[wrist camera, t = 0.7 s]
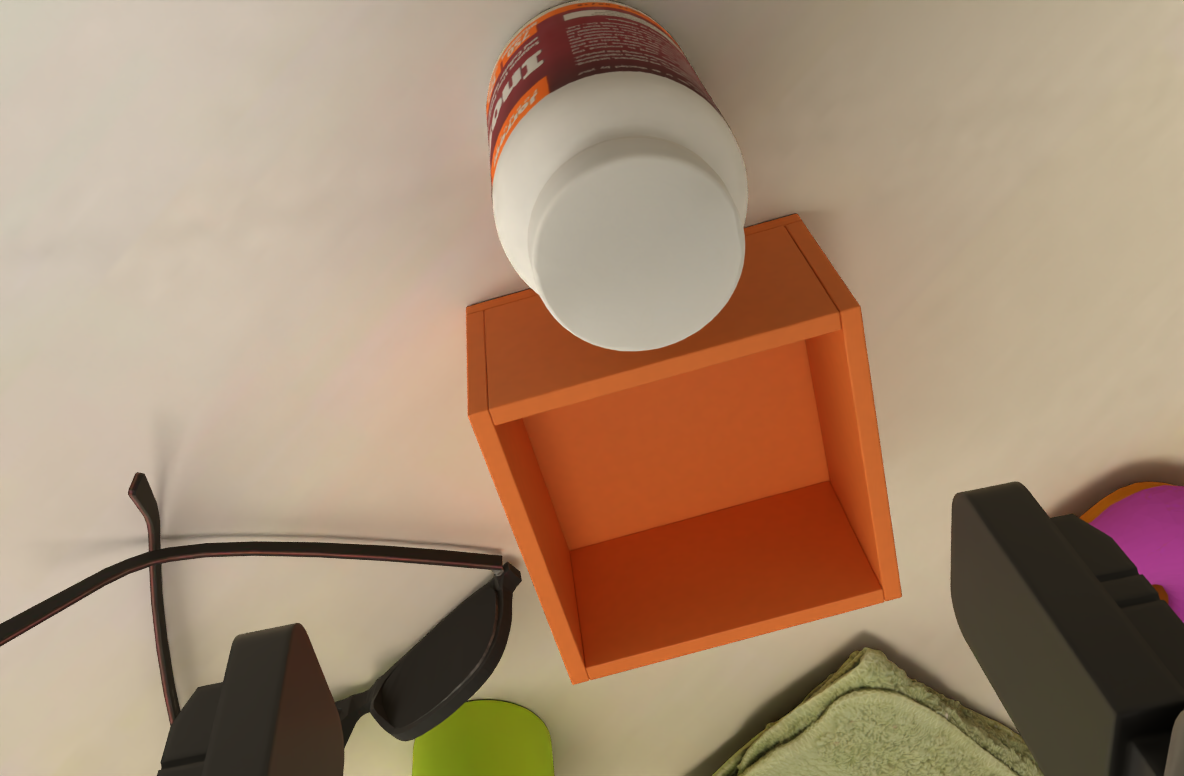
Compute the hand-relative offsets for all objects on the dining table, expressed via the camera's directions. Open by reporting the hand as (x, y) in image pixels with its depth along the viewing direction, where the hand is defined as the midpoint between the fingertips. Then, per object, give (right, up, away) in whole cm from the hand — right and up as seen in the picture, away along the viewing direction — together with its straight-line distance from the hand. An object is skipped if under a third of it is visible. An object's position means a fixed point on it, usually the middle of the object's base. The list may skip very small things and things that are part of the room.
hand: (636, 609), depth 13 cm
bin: (+2, +2, +25) cm, 25 cm away
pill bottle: (-1, +11, +20) cm, 23 cm away
